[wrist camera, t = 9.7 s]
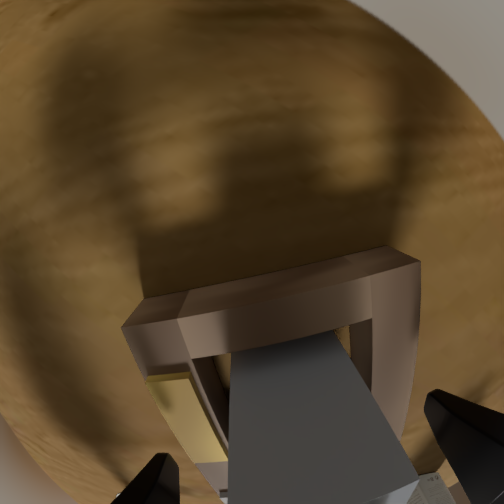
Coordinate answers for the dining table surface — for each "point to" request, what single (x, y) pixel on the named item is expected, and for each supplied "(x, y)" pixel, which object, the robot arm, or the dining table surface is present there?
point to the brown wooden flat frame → (276, 339)
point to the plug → (310, 430)
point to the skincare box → (431, 491)
